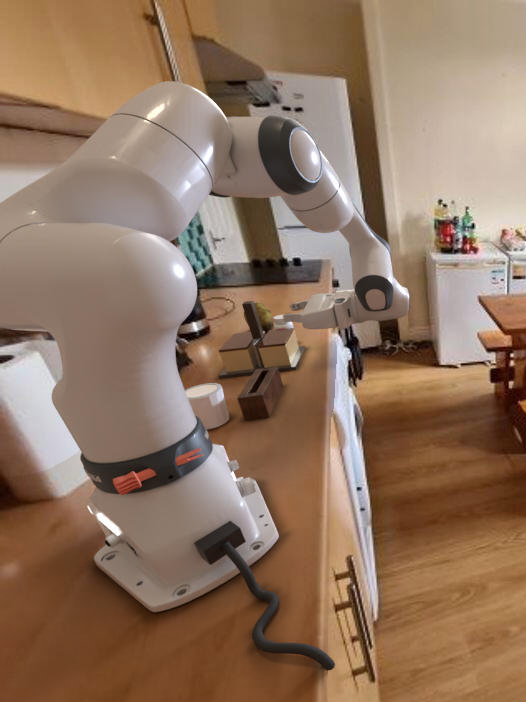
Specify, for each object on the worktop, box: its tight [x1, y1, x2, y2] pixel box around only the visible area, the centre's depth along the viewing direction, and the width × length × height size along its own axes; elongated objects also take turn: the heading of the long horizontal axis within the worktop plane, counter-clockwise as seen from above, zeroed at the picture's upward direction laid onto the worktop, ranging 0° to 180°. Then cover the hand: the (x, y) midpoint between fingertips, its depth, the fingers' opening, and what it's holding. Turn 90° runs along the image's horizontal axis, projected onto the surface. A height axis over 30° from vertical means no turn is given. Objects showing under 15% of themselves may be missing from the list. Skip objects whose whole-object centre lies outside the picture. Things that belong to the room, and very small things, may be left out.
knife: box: [241, 300, 267, 367], centre depth 104 cm, size 10×2×15 cm, turn 16°
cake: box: [217, 327, 306, 379], centre depth 106 cm, size 15×17×7 cm
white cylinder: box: [185, 382, 230, 430], centre depth 80 cm, size 7×7×7 cm
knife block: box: [236, 367, 284, 421], centre depth 87 cm, size 14×4×5 cm, turn 16°
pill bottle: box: [272, 314, 298, 340], centre depth 117 cm, size 5×5×8 cm
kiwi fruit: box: [243, 301, 275, 334], centre depth 129 cm, size 8×13×8 cm, turn 23°
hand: (287, 312), depth 104 cm, fingers open, 8 cm apart
